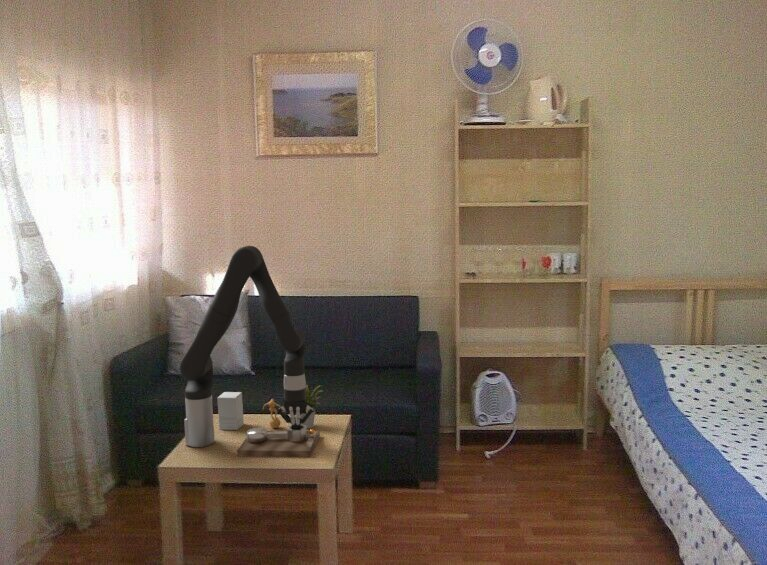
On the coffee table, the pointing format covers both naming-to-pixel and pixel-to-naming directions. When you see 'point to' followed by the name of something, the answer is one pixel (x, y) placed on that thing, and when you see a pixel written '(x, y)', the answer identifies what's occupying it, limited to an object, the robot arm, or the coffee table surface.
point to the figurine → (274, 421)
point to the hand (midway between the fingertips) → (296, 434)
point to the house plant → (310, 419)
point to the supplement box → (230, 410)
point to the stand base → (280, 447)
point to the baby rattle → (278, 434)
